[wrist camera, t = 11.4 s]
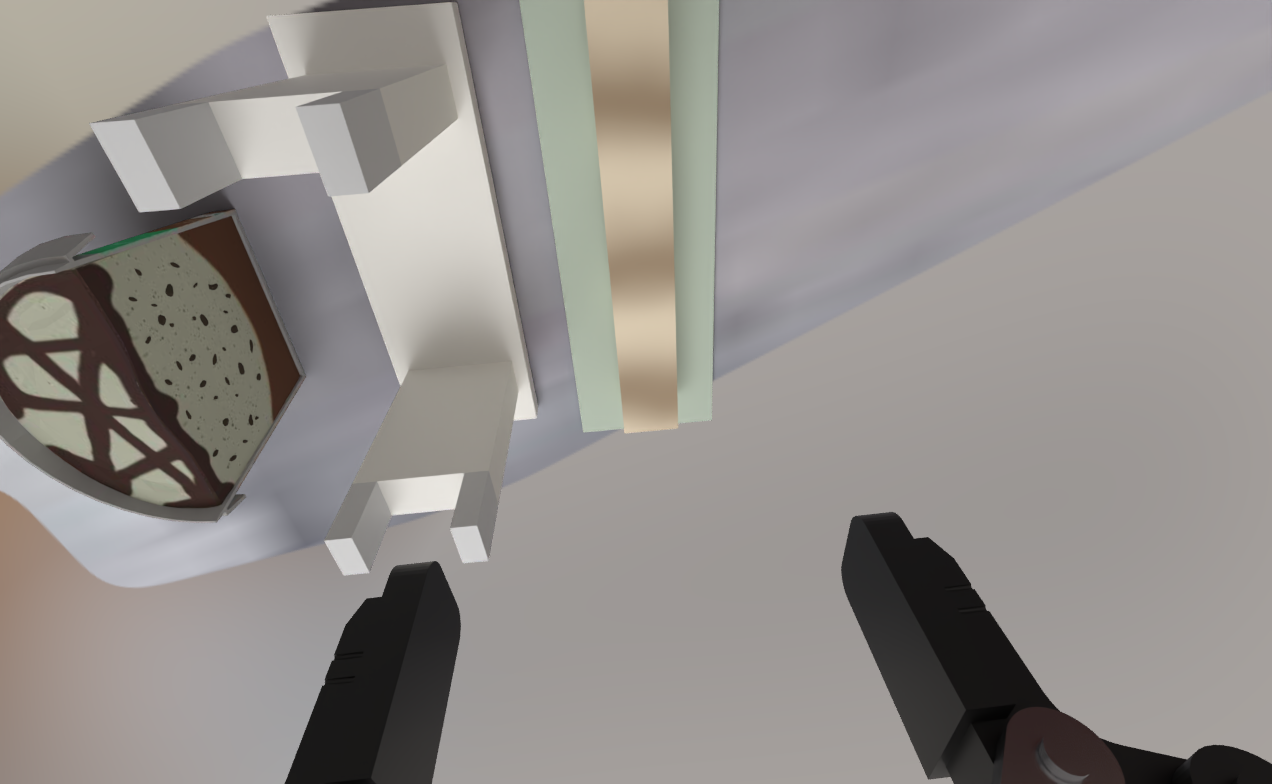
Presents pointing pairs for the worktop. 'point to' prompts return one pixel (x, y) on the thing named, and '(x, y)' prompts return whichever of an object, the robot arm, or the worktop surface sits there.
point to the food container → (145, 366)
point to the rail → (637, 199)
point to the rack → (379, 241)
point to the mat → (578, 200)
